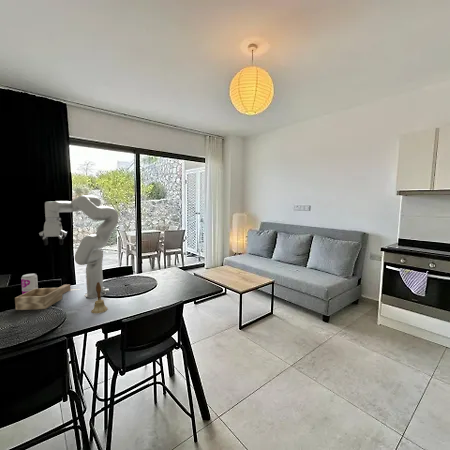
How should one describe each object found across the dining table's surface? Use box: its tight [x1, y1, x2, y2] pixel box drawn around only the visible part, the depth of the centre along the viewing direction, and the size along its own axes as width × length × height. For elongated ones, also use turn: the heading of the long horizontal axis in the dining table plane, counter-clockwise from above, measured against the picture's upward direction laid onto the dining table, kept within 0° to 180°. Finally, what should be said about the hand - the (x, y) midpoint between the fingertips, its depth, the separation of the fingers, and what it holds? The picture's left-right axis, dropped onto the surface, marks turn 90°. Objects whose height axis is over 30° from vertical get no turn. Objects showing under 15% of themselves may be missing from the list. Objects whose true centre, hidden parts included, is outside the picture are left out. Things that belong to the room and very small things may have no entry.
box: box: [14, 287, 63, 311], centre depth 148 cm, size 16×16×8 cm
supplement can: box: [20, 273, 39, 295], centre depth 162 cm, size 8×8×15 cm
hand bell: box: [90, 282, 109, 315], centre depth 139 cm, size 8×8×16 cm
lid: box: [57, 283, 82, 295], centre depth 169 cm, size 17×17×6 cm
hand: (53, 244), depth 170 cm, fingers open, 9 cm apart
